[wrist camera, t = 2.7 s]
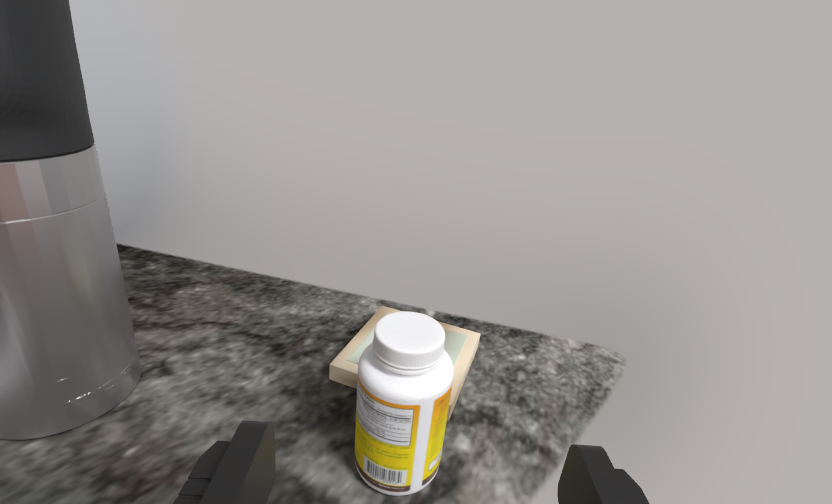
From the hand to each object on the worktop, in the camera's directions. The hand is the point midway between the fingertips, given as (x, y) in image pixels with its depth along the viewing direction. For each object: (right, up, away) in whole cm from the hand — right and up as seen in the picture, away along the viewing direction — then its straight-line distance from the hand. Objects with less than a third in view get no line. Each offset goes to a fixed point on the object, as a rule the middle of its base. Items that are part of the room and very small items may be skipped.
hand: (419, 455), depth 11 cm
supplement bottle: (-1, -8, +16) cm, 18 cm away
